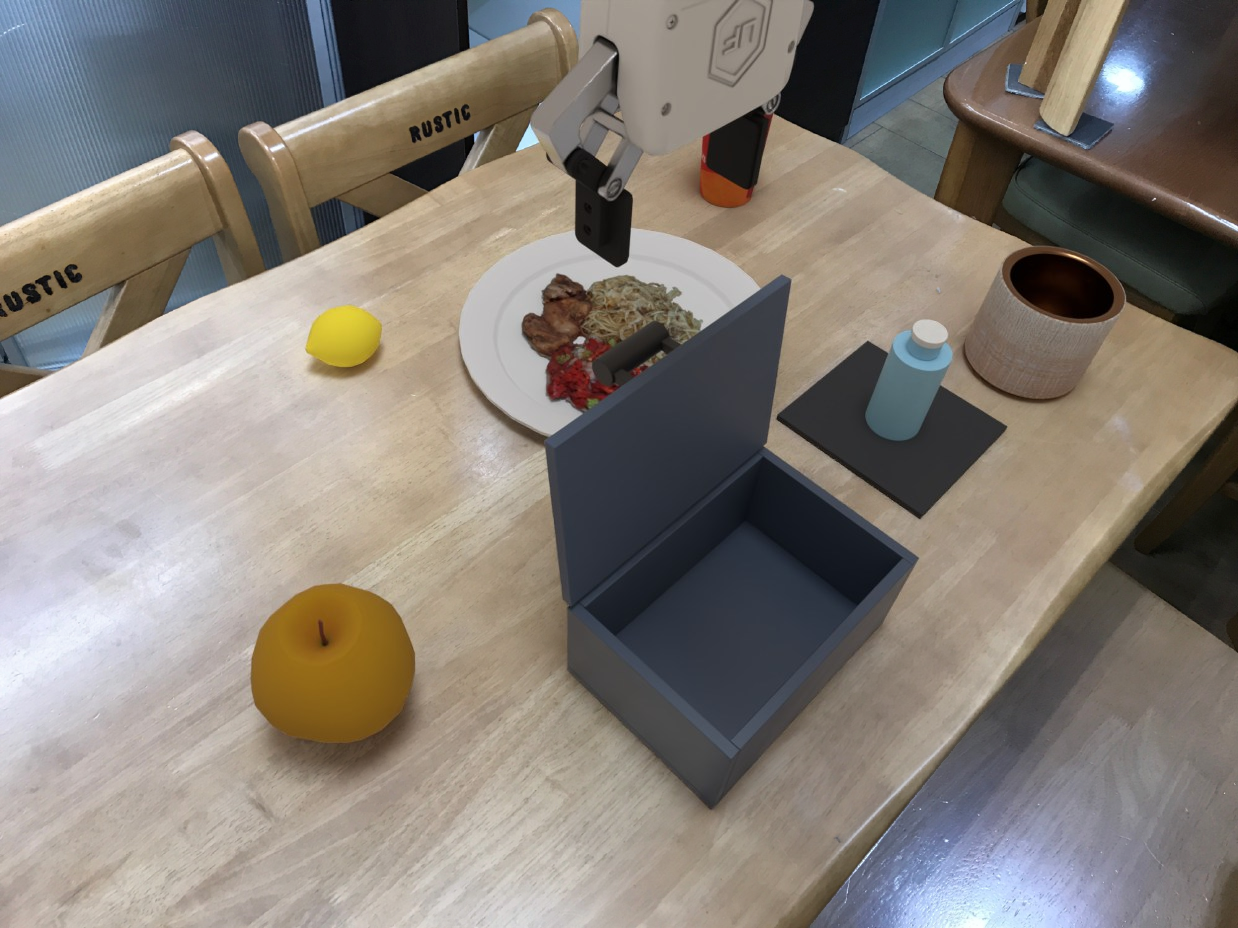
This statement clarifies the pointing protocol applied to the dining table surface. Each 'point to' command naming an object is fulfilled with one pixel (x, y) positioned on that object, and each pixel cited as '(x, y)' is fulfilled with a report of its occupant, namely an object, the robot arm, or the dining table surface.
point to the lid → (661, 434)
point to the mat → (890, 466)
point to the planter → (1043, 321)
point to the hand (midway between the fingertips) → (669, 212)
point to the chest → (734, 619)
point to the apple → (332, 665)
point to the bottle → (909, 381)
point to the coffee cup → (722, 182)
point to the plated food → (584, 317)
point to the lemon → (344, 336)
